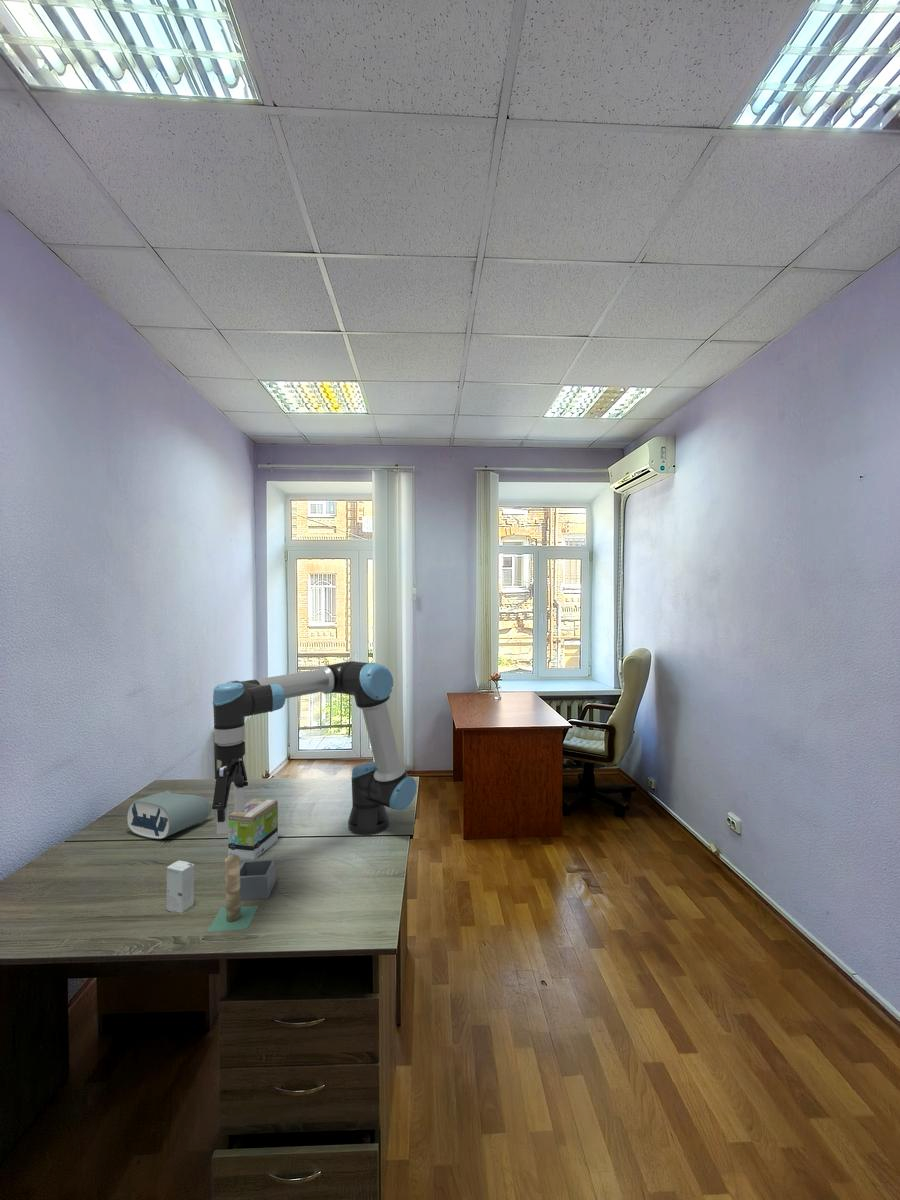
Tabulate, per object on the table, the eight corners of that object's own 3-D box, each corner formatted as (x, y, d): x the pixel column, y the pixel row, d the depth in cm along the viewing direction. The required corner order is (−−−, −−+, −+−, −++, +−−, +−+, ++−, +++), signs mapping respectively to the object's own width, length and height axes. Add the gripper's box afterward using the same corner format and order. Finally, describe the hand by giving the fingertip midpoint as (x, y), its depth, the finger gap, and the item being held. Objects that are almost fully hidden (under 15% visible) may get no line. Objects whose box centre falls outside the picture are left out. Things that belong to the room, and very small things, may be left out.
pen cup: (276, 882, 157) (275, 859, 157) (267, 900, 147) (267, 876, 147) (243, 884, 156) (243, 860, 156) (233, 902, 146) (232, 878, 146)
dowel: (242, 913, 141) (241, 854, 140) (238, 921, 137) (237, 861, 137) (228, 914, 140) (227, 855, 140) (224, 922, 137) (222, 862, 136)
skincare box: (165, 910, 143) (164, 867, 143) (179, 901, 148) (178, 859, 147) (182, 915, 141) (181, 871, 141) (195, 906, 145) (194, 863, 145)
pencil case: (125, 834, 191) (126, 798, 191) (170, 815, 208) (171, 783, 209) (168, 843, 182) (169, 806, 183) (212, 823, 200) (212, 790, 200)
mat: (258, 907, 144) (258, 905, 144) (247, 931, 134) (247, 928, 134) (221, 910, 143) (220, 908, 143) (207, 933, 133) (207, 931, 133)
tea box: (255, 861, 169) (253, 816, 169) (227, 859, 171) (226, 814, 171) (279, 840, 184) (278, 798, 184) (253, 838, 186) (252, 797, 186)
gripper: (230, 730, 150) (232, 803, 150) (196, 757, 125) (198, 844, 126) (257, 729, 151) (259, 802, 151) (228, 755, 126) (230, 842, 126)
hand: (231, 821), depth 138 cm, fingers open, 13 cm apart
